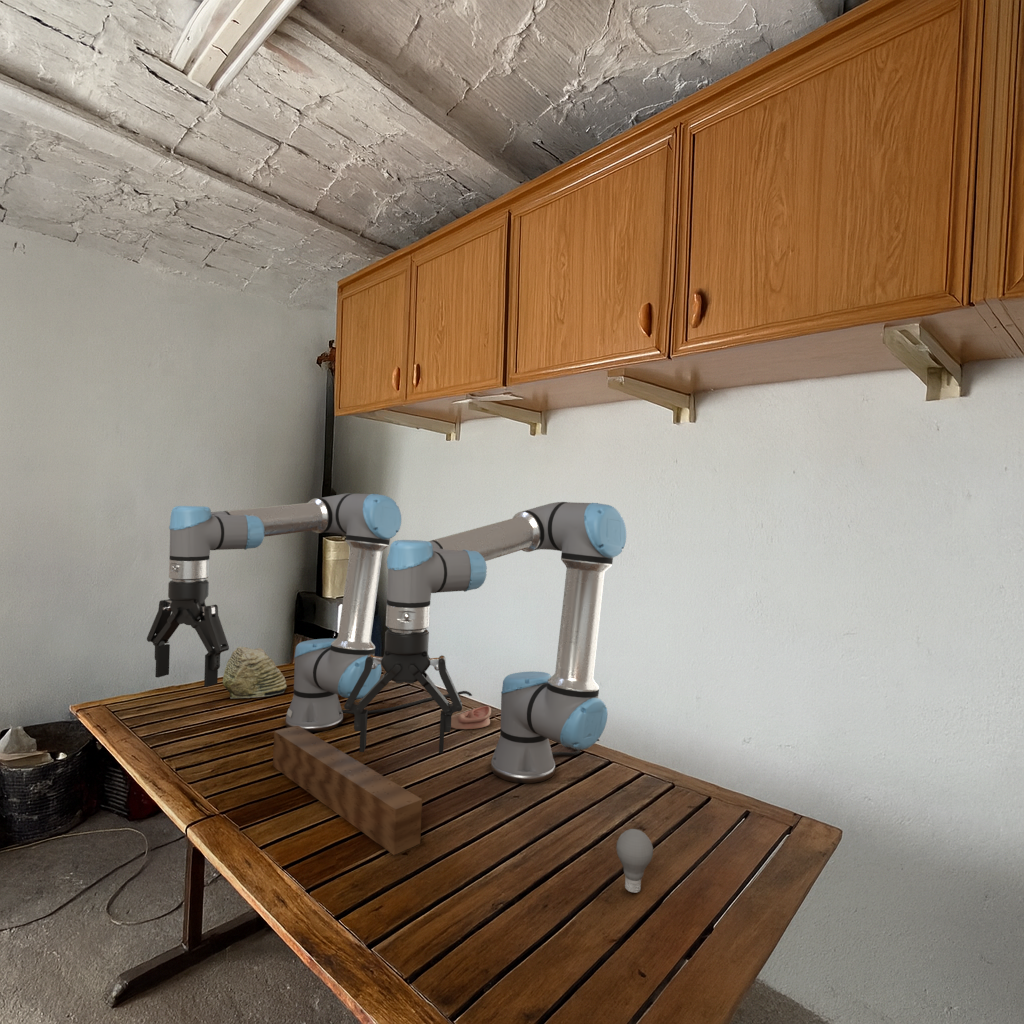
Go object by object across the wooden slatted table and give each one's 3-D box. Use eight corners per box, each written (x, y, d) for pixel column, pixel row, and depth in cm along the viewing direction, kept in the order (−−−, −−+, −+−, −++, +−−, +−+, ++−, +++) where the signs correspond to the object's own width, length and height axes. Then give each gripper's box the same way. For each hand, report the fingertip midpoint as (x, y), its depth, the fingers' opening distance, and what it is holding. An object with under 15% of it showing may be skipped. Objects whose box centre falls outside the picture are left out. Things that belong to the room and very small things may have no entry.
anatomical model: (438, 712, 177) (451, 700, 188) (438, 726, 177) (450, 713, 188) (484, 718, 174) (494, 705, 185) (484, 732, 174) (493, 718, 185)
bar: (272, 766, 147) (274, 730, 147) (296, 759, 152) (298, 725, 152) (393, 855, 113) (395, 809, 113) (420, 843, 117) (422, 799, 117)
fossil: (218, 695, 195) (220, 647, 195) (278, 685, 208) (279, 640, 207) (228, 703, 189) (230, 653, 188) (289, 692, 201) (290, 645, 201)
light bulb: (610, 879, 108) (613, 822, 108) (644, 879, 109) (647, 822, 109) (619, 902, 102) (622, 840, 102) (655, 901, 103) (658, 840, 103)
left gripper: (129, 576, 133) (127, 676, 134) (220, 587, 125) (217, 693, 125) (160, 573, 140) (158, 668, 141) (249, 582, 132) (246, 684, 132)
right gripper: (330, 631, 106) (325, 757, 106) (479, 635, 108) (473, 759, 108) (338, 622, 113) (333, 740, 114) (478, 626, 115) (472, 742, 116)
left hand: (186, 680), depth 133 cm, fingers open, 13 cm apart
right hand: (402, 749), depth 111 cm, fingers open, 13 cm apart
